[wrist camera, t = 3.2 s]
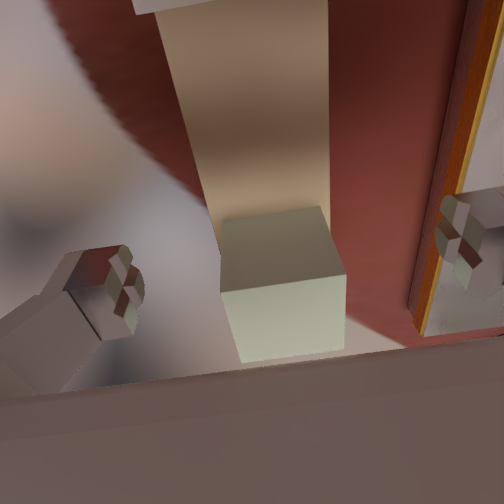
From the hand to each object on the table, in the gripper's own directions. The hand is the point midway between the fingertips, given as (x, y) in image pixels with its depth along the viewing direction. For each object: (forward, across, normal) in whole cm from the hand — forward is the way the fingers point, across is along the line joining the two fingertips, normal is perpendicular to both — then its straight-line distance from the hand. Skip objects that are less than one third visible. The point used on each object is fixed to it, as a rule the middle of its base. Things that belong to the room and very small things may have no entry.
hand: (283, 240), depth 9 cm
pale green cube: (+8, 0, +6) cm, 10 cm away
